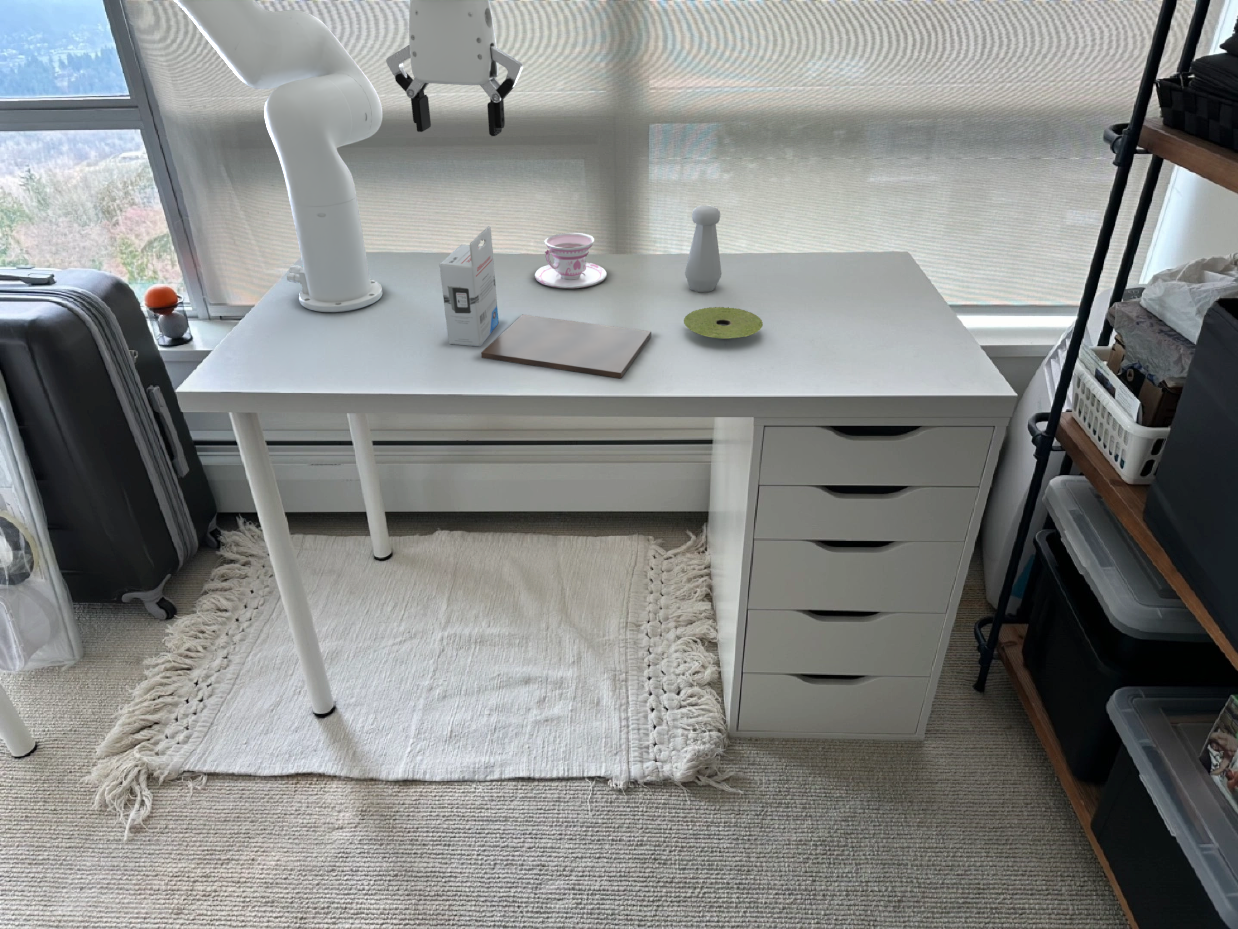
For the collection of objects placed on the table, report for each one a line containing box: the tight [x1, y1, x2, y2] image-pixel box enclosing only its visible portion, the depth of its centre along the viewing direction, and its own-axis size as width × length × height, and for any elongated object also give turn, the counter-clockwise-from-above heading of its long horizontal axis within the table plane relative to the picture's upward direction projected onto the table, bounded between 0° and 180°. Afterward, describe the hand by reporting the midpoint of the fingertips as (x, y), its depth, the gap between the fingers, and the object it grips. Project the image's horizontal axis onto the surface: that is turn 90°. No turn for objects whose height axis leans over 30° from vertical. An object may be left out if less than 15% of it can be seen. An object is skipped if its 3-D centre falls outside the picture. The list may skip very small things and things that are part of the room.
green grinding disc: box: [683, 306, 764, 340], centre depth 123 cm, size 11×11×2 cm
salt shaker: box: [684, 204, 723, 293], centre depth 135 cm, size 6×6×13 cm
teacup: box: [534, 232, 607, 289], centre depth 141 cm, size 12×12×6 cm
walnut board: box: [480, 314, 652, 379], centre depth 119 cm, size 20×14×1 cm
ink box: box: [438, 225, 500, 347], centre depth 119 cm, size 9×5×15 cm, turn 168°
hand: (459, 131), depth 110 cm, fingers open, 9 cm apart
